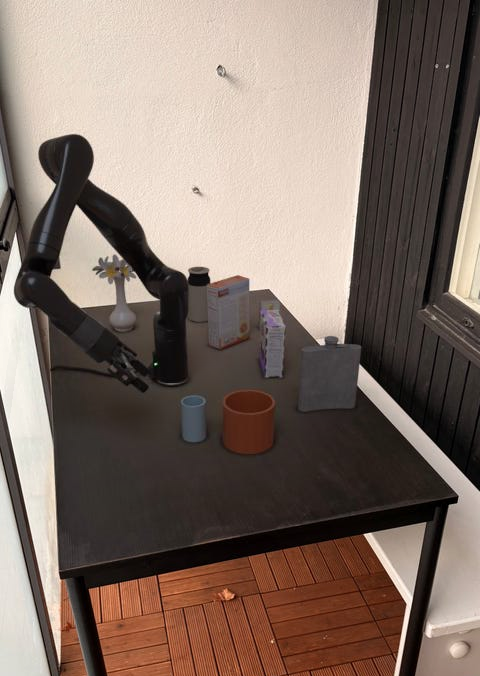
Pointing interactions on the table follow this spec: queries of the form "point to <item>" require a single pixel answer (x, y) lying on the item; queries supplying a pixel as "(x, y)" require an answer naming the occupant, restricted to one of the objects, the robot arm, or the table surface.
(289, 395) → the table surface
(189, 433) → the enamel cup
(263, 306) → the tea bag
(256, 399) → the flower pot
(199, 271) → the travel mug
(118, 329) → the flower vase
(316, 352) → the hip flask
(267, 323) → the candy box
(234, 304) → the cracker box
